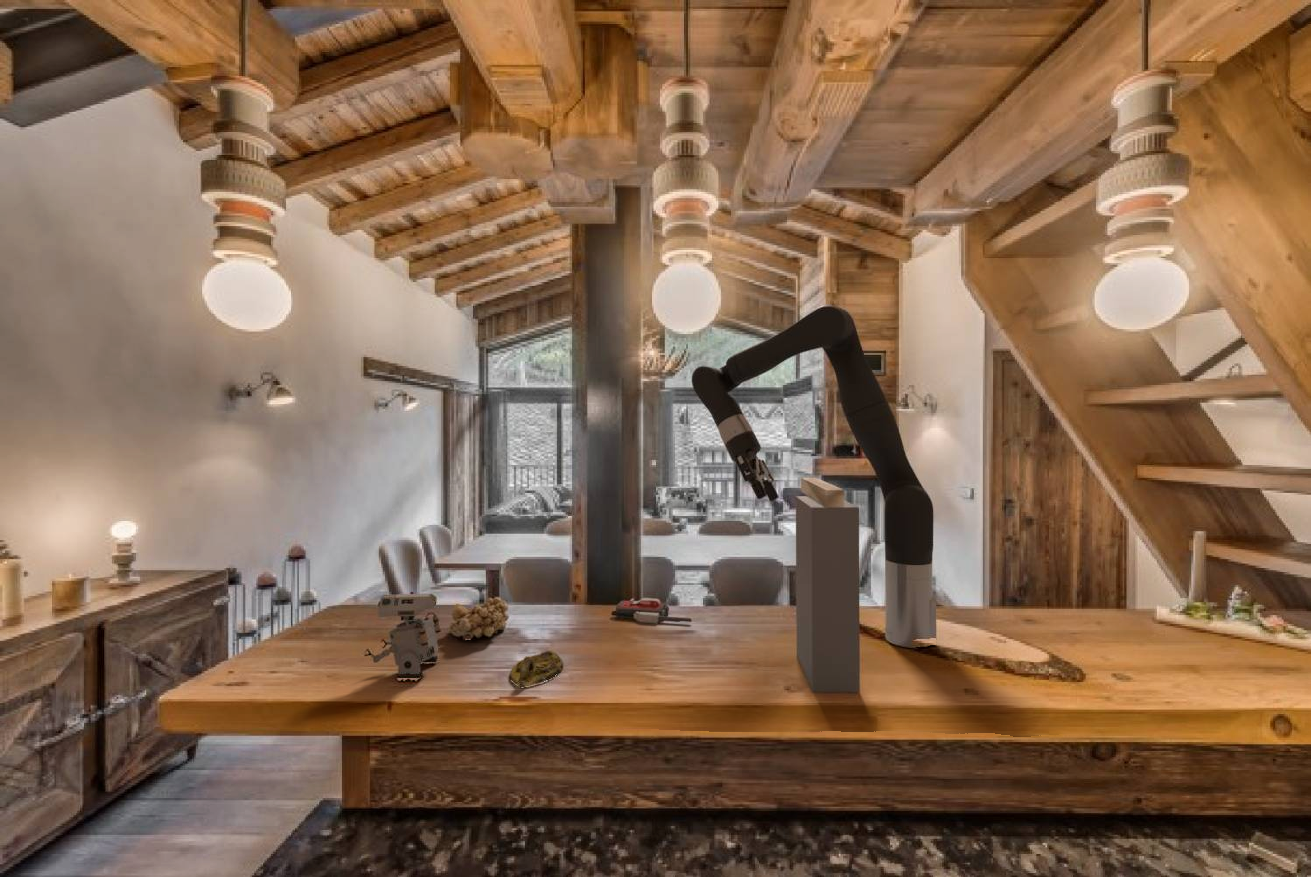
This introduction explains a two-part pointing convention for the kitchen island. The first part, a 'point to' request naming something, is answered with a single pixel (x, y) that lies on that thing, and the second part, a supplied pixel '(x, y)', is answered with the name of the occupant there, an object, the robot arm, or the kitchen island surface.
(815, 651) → the charcoal plinth
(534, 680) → the olive green oval lump
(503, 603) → the mineral formation
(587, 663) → the kitchen island surface
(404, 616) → the figurine
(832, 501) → the wooden bar
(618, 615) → the red black elongated piece
